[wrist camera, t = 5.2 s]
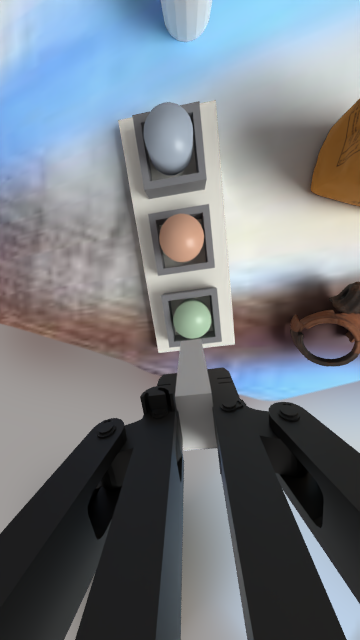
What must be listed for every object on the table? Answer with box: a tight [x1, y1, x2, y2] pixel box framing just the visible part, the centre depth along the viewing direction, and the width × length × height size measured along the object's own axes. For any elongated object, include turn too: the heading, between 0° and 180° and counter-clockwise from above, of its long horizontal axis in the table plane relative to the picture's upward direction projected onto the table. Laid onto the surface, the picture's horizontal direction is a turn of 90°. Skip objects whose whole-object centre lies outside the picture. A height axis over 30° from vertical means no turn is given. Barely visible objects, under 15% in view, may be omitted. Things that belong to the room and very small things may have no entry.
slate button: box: [143, 102, 193, 175], centre depth 21 cm, size 5×5×3 cm
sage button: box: [173, 299, 211, 339], centre depth 28 cm, size 5×5×3 cm
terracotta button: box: [159, 214, 204, 263], centre depth 24 cm, size 5×5×3 cm
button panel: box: [118, 100, 235, 353], centre depth 27 cm, size 31×12×5 cm, turn 8°
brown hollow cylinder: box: [290, 282, 360, 366], centre depth 29 cm, size 12×10×8 cm
